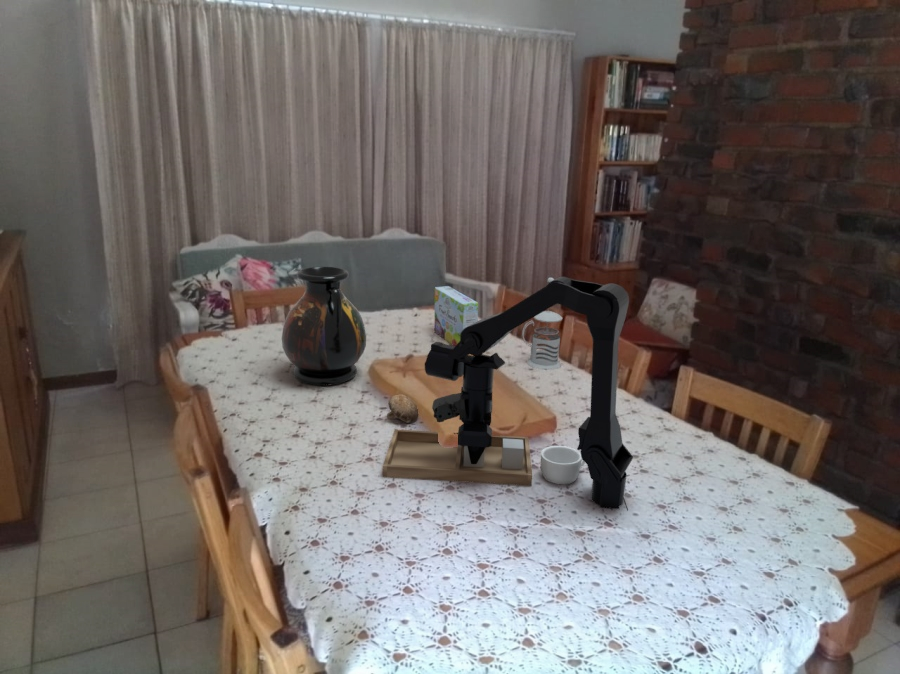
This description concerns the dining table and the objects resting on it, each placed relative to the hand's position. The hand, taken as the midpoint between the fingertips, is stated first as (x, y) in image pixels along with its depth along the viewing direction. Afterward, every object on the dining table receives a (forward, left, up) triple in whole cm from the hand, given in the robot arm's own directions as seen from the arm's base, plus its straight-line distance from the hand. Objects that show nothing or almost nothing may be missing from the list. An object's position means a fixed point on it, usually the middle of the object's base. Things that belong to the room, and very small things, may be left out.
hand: (474, 458), depth 135 cm
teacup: (-3, -17, -2) cm, 18 cm away
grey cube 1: (0, 0, -1) cm, 1 cm away
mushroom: (+19, +17, -2) cm, 25 cm away
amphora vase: (+44, +41, -2) cm, 60 cm away
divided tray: (0, +3, -2) cm, 3 cm away
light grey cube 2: (0, -7, -1) cm, 8 cm away
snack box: (+79, +9, -2) cm, 79 cm away
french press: (+63, -17, -2) cm, 65 cm away
